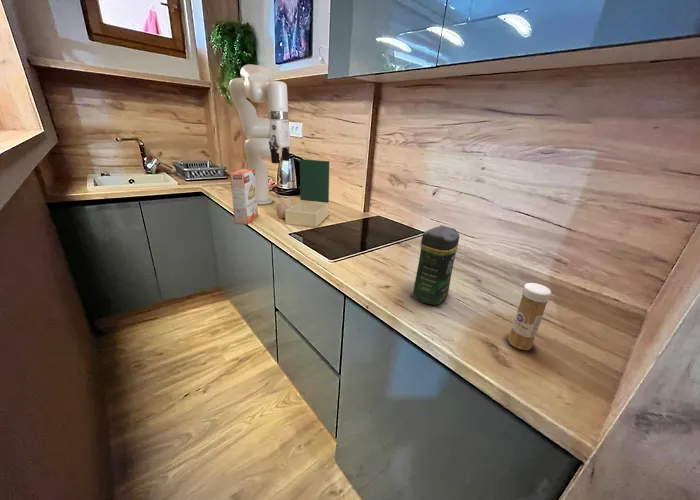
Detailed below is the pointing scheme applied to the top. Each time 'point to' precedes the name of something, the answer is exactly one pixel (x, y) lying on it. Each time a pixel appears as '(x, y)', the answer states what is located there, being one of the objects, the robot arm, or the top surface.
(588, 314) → the top surface
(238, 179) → the cracker box
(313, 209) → the book box
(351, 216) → the top surface
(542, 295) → the sprinkles bottle
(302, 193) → the book cover
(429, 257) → the coffee jar
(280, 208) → the egg
